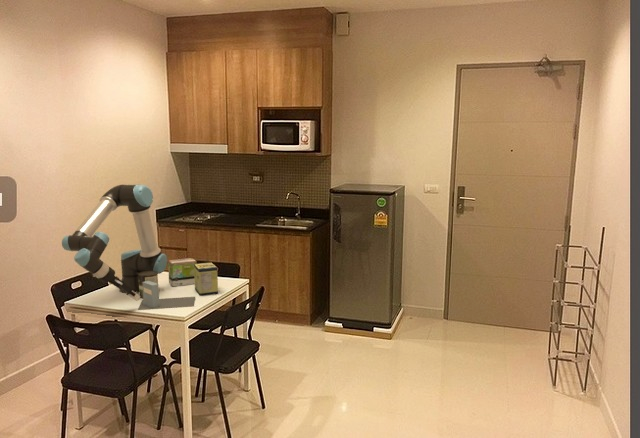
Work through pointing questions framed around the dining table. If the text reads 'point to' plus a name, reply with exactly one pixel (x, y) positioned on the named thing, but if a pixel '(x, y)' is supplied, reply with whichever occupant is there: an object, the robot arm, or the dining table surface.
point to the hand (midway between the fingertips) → (138, 298)
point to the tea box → (181, 271)
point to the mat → (171, 303)
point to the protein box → (206, 279)
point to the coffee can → (146, 279)
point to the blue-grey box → (151, 294)
